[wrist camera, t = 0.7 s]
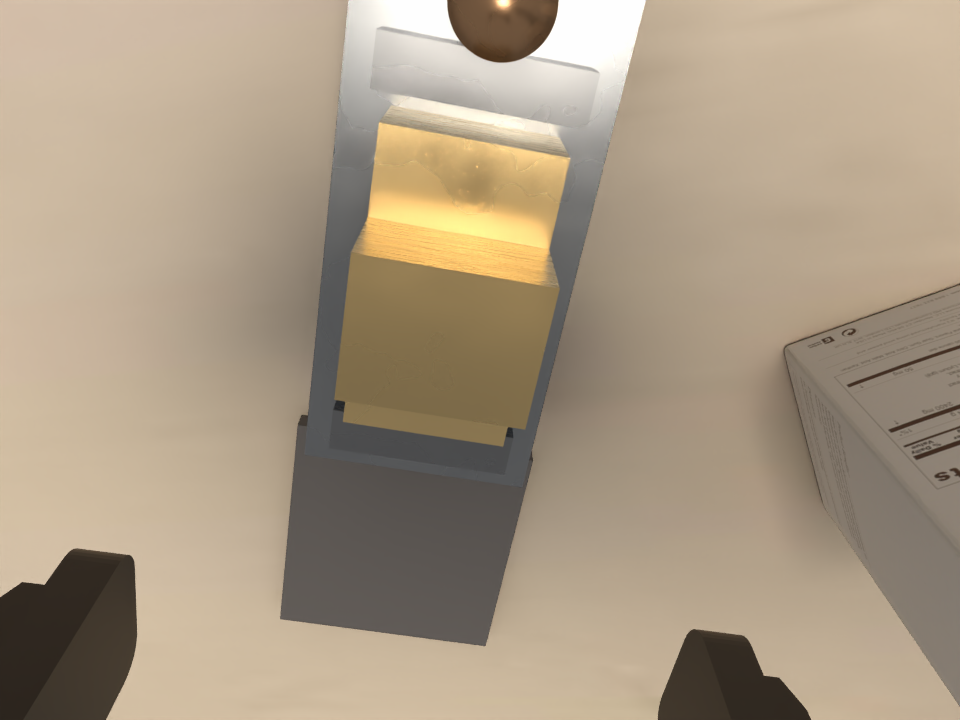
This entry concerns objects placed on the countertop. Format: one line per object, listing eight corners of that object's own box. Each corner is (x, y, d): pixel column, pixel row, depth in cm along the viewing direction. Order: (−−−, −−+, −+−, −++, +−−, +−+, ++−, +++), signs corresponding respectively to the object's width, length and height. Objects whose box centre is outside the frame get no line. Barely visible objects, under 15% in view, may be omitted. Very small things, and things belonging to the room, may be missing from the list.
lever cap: (559, 137, 23) (585, 185, 17) (500, 399, 26) (506, 505, 21) (390, 105, 22) (363, 144, 17) (356, 376, 26) (325, 479, 21)
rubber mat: (531, 450, 33) (532, 460, 33) (485, 633, 38) (485, 646, 37) (301, 414, 32) (297, 425, 32) (284, 606, 37) (280, 619, 37)
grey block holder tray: (619, -20, 25) (698, -21, 16) (516, 417, 33) (530, 583, 24) (378, -71, 24) (321, -100, 16) (328, 388, 32) (270, 547, 23)
